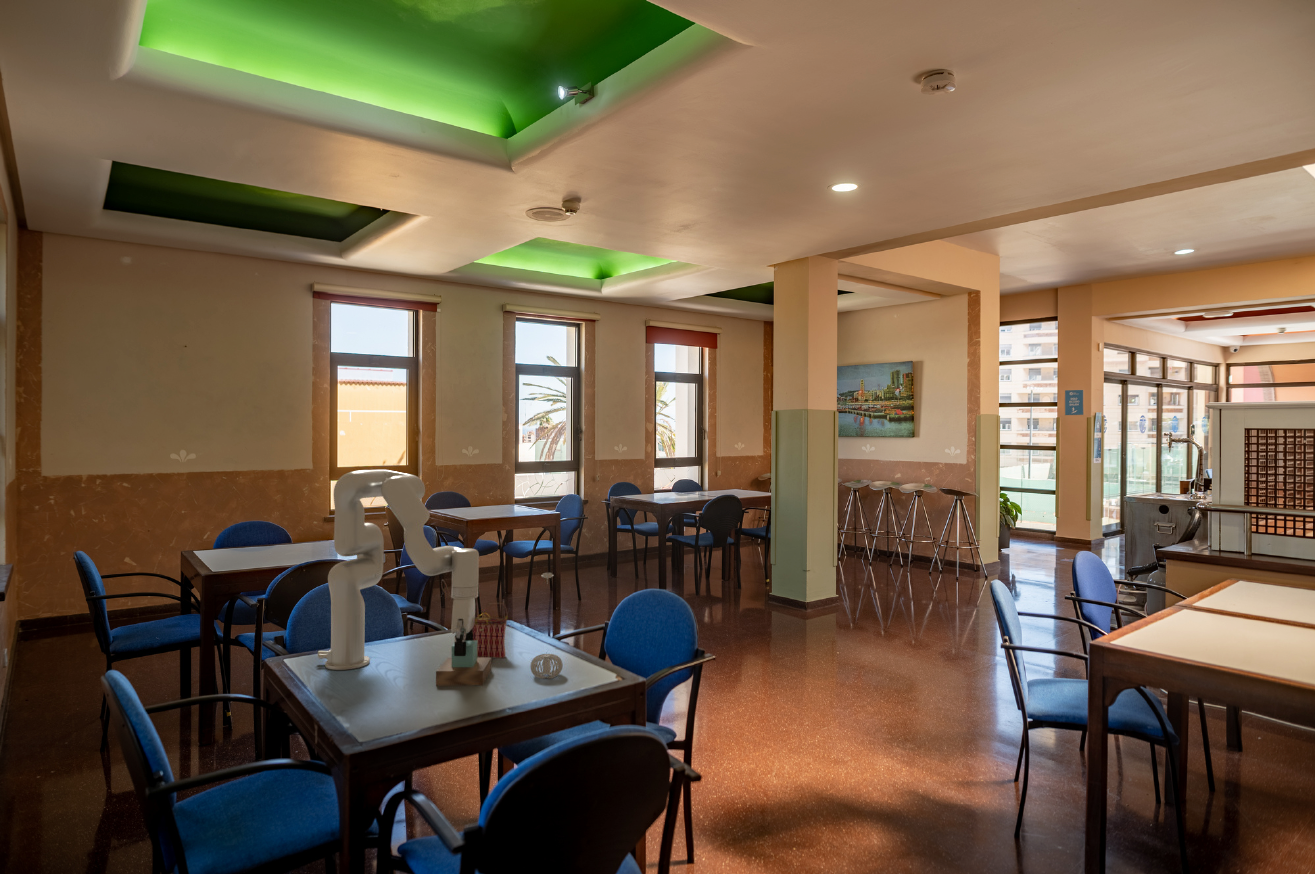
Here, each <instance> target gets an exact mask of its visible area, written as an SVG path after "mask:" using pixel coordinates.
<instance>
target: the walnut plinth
mask: <svg viewBox="0 0 1315 874" xmlns="http://www.w3.org/2000/svg"><path fill="white" fill-rule="evenodd" d="M491 672H492V658H491V657H477V662H476V663H475V665H474V666H473V667H452V657H447V658H446V659H445V660H444V661H443V662H442V664H440V666H439V668H437V670H435V686H437V687H438V686H483V685H484V684H485V682H486V680H487V679H488V677H489V676H490V674H491Z"/></svg>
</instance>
